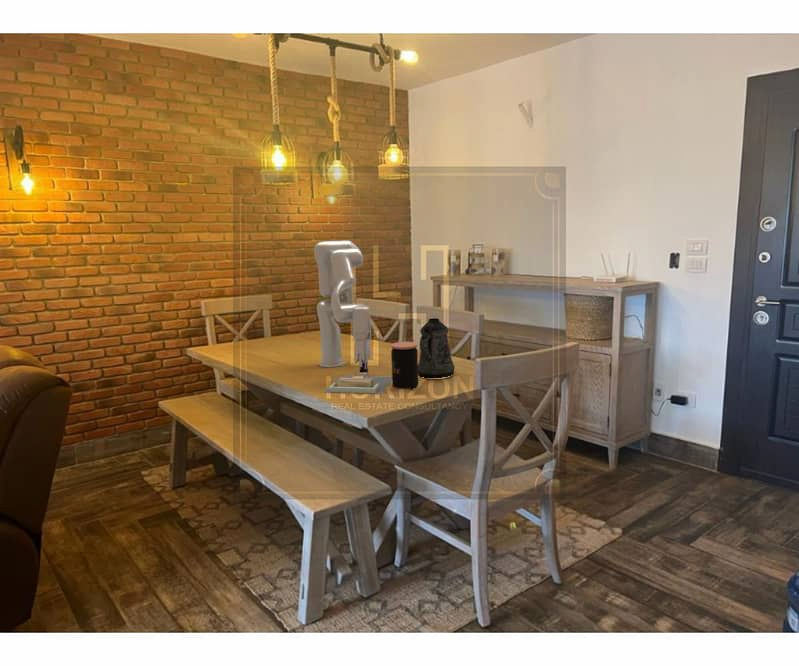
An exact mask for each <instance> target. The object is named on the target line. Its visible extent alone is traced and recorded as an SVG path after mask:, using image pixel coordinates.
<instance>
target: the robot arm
mask: <svg viewBox="0 0 799 666" xmlns="http://www.w3.org/2000/svg"><path fill="white" fill-rule="evenodd" d="M313 250H314V253H313V254H314V258H315V261H316V264H317V269H318V286H319V287H318V288H319V289H318V291H319V293H320V295H321V297H324V298H330V299H324V300H320V301H319V302H318V303H317V306H316V313H317V316H318V323H319V332H320V350H321V360H320V361H319V362H318V366H320V367H321V368H338V367H343V366H345V364H346V360H343V359H342V356H343V353H342V343H341V341H342V339H341V337H342V336H341V328H340V326H339V324H340V323H351V322H352V336H353V337H352V338H353V341H354V346H353V347H354V348H353V362H354V363H355V364H357V363H358V367H359V369H358V370H359V372H365V373H368V374H369V370H368V369H369V368H368V365H369V361H370V360H371V341H370V340H371V339H372V327H371V326H372V325H371V324H372V323H371V308H370V307H369V306H367V305H365V304H364V303H360V302H359V303H354V285H355V283H356V281H357V280H356V275H355V273H354V269H353V268H359V267H361V266H362V265H363V263H364V257H363V253H362V251H361V249H360V248H359V247H358V246H357V245H356V244H355V243H353V242H352V241H351V240H346V239H345V240H323V241H319V242H317V243H316V244H315V246H314V249H313ZM340 297H341V298H340ZM335 320H336V321H335ZM337 322H338V323H339V324H338V323H337Z"/></svg>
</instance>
